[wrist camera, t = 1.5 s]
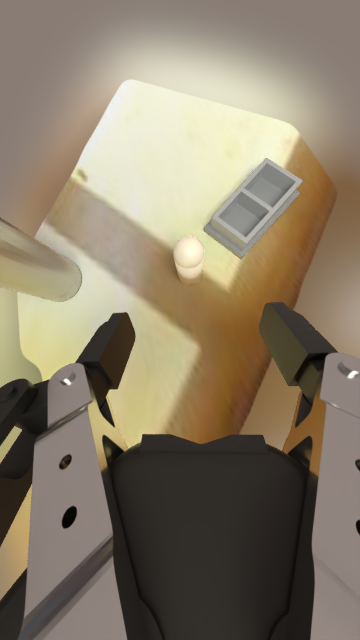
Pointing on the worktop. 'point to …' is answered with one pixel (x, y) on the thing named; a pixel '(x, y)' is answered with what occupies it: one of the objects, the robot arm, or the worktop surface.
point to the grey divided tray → (253, 207)
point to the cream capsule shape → (189, 259)
